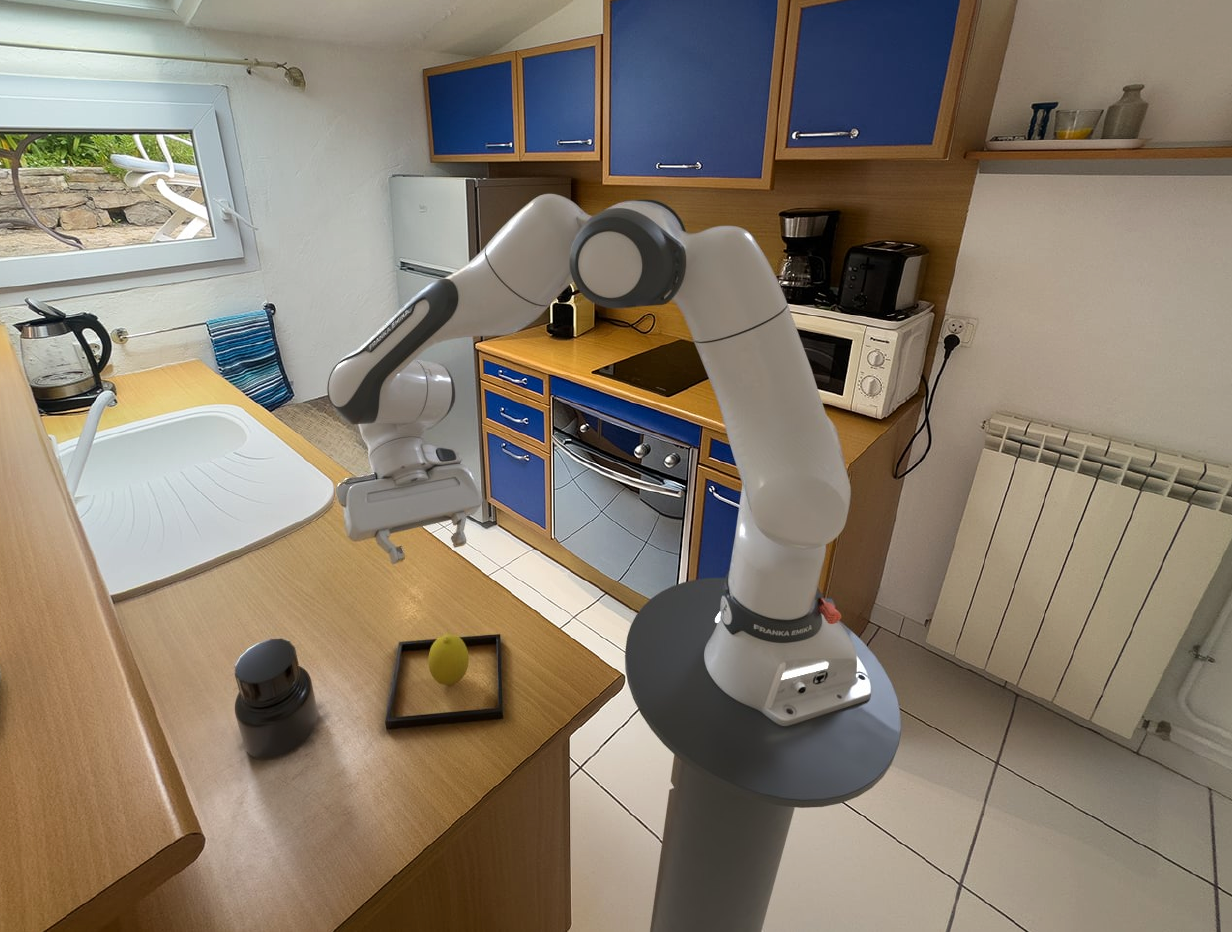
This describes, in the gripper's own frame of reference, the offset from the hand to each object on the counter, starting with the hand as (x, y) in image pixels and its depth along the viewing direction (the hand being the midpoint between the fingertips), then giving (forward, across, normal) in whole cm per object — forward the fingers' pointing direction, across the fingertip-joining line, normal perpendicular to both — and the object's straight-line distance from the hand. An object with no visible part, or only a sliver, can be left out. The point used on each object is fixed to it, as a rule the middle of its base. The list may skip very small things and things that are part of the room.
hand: (430, 553), depth 82 cm
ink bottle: (+13, -20, +16) cm, 28 cm away
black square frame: (+16, +1, +10) cm, 18 cm away
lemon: (+16, +1, +10) cm, 19 cm away
